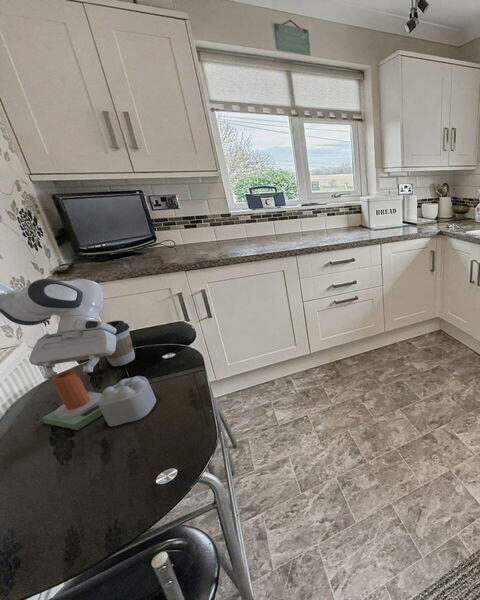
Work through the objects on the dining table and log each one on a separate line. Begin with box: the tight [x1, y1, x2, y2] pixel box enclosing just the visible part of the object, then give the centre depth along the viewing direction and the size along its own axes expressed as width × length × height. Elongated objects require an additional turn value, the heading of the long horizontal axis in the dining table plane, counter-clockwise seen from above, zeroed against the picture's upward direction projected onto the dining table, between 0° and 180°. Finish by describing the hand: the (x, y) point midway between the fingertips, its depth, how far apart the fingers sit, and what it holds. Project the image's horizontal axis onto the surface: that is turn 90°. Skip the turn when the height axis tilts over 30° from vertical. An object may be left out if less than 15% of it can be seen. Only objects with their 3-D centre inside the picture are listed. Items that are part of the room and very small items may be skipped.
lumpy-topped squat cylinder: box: [97, 375, 157, 427], centre depth 94 cm, size 10×13×9 cm
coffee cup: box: [104, 320, 136, 367], centre depth 121 cm, size 11×11×15 cm
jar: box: [50, 369, 91, 410], centre depth 93 cm, size 5×5×10 cm
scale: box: [41, 391, 103, 431], centre depth 95 cm, size 14×12×3 cm
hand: (69, 375), depth 93 cm, fingers open, 8 cm apart
